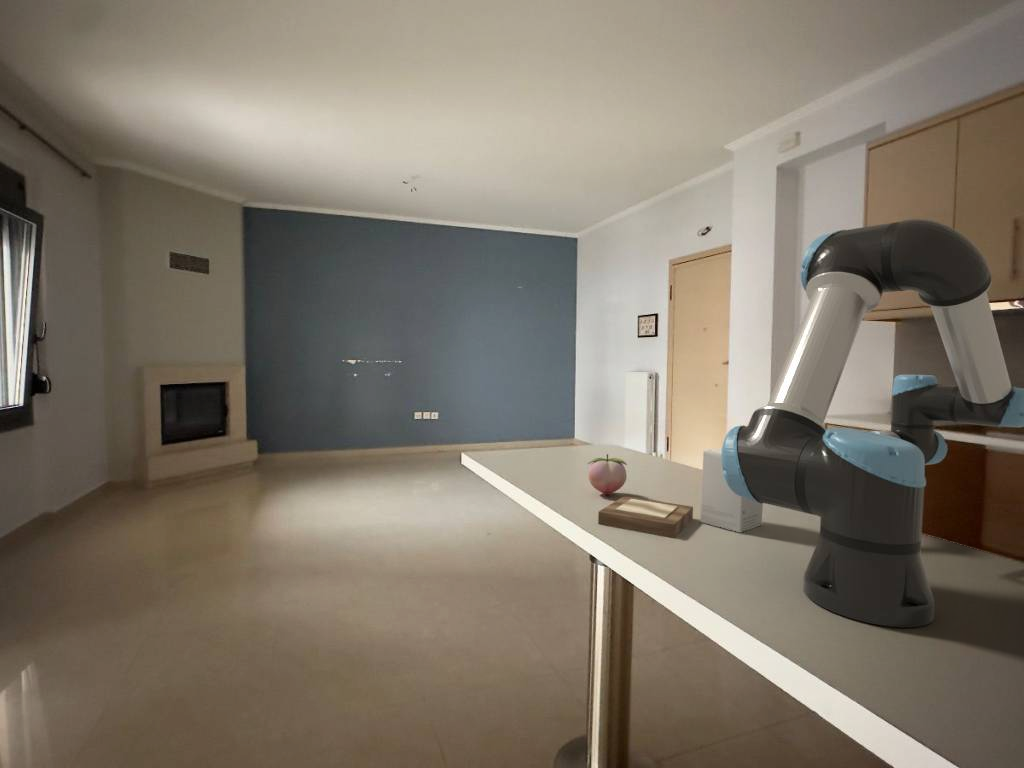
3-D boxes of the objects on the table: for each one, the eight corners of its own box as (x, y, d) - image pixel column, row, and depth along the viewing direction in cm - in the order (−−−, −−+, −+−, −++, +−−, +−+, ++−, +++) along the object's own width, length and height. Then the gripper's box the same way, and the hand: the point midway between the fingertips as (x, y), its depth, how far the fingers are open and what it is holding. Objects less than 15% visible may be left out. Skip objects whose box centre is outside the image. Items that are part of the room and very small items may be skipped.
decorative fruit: (622, 491, 137) (623, 451, 137) (628, 499, 129) (629, 457, 129) (584, 490, 137) (585, 450, 137) (588, 498, 129) (590, 456, 129)
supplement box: (740, 534, 105) (744, 456, 104) (698, 522, 111) (701, 450, 111) (763, 525, 110) (766, 452, 110) (722, 515, 117) (724, 446, 117)
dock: (673, 537, 101) (674, 522, 101) (598, 523, 109) (598, 510, 109) (692, 518, 114) (693, 505, 114) (623, 507, 122) (624, 494, 122)
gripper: (923, 479, 103) (822, 483, 100) (827, 455, 128) (743, 457, 124) (925, 440, 103) (823, 442, 99) (828, 423, 127) (744, 424, 124)
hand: (779, 450), depth 112 cm, fingers open, 13 cm apart
